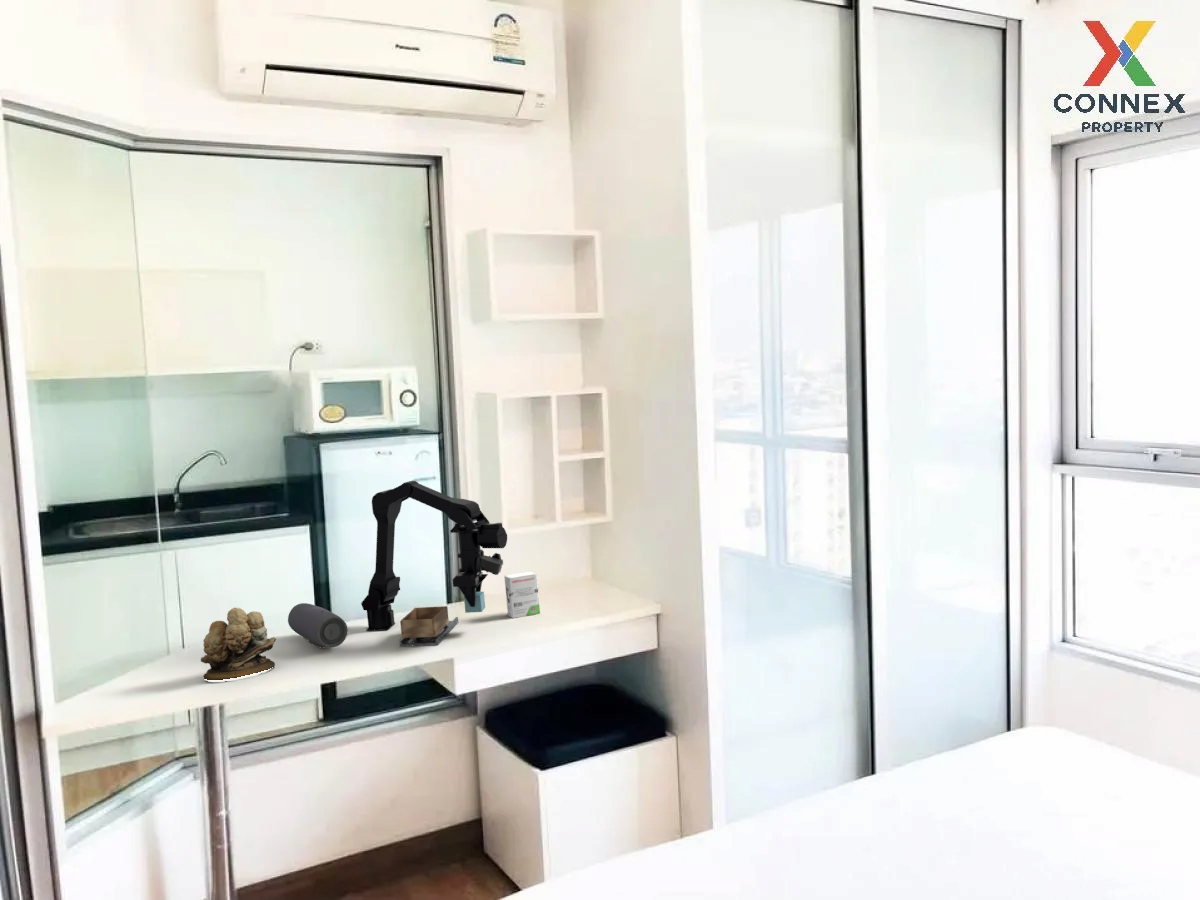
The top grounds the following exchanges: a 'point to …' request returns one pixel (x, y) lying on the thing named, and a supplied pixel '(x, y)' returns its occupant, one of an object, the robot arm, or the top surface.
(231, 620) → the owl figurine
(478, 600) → the part block
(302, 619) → the bluetooth speaker
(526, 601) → the ink box
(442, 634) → the track
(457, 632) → the top surface
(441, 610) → the wooden drawer
